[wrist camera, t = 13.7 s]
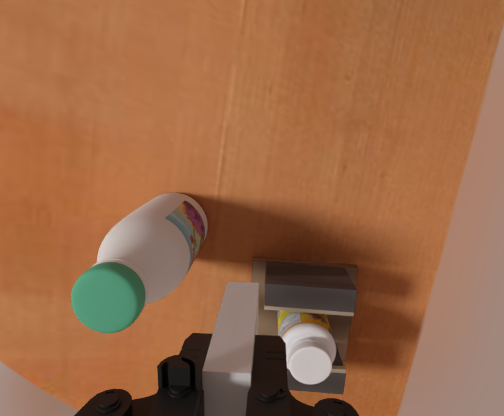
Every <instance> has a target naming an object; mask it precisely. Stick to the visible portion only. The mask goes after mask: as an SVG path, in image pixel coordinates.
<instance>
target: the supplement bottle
mask: <svg viewBox="0 0 504 416" xmlns="http://www.w3.org/2000/svg"><path fill="white" fill-rule="evenodd" d="M278 336H281V338H282V339H283V341H284V342H285V343H286V361H287V368H288V369H289V370H290V372H291V374H292V376H293V377H294V378H295V379H296V380H298V381H299V382H301V383H304V384H317V383H320V382H322V381H324V380H325V379H326V378H327V377H328V376H329V374H330V373H331V370H332V363H333V361H334V359H335V356H336V345H335V341H334V338H333V335H332V331H331V328H330V325H329V322H328V319H327V315H326V314H317V313H304V312H291V311H278Z"/></svg>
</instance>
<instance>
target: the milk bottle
mask: <svg viewBox="0 0 504 416" xmlns="http://www.w3.org/2000/svg"><path fill="white" fill-rule="evenodd" d="M207 231H208V222H207V218H206V215H205V212H204V211H203V209H202V207H201V206H200V205H199V204H198V203H197V202H196V201H195V200H194V199H192V198H191V197H189V196H187V195H184V194H181V193H165V194H162V195H159V196H157V197H155V198H153V199H152V200H150V201H149V202H147V203H146V204H144V205H143V206H141V207H140V208H138V209H137V210H135V211H134V212H132V213H131V214H129V215H128V216H126V217H125V218H124V219H122V220H121V221H120V222H119V223H117V224H116V225H115V226H114V227H113V228H112V229H111V230H110V231H109V233H108V234H107V235H106V237H105V238H104V240H103V242H102V244H101V246H100V249H99V252H98V257H97V263H96V264H94V265H93V266H92V267H91V268H90V269H88V270H87V271H86V272H84V273H83V274H82V275H81V276H80V277H79V278H78V280H77V281H76V283H75V285H74V287H73V289H72V293H71V303H72V307H73V310H74V312H75V314H76V316H77V317H78V319H79V320H80V321H81V322H82V323H83V324H84V325H86V326H87V327H89V328H90V329H92V330H95V331H98V332H102V333H115V332H119V331H121V330H124V329H125V328H127V327H129V326H130V325H131V324H132V323H133V322H134V321H135V320H136V319H137V317H138V316H139V315H140V313H141V311H142V310H143V308H144V307H145V305H146V304H147V303H152V302H155V301H157V300H159V299H162V298H163V297H165V296H167V295H168V294H169V293H171V292H172V291H173V290H174V289H175V288H176V287H177V286H178V285H179V284H180V283H181V281H182V280H183V279H184V277H185V276H186V274H187V272H188V271H189V269H190V267H191V265H192V264H193V262H194V260H195V258H196V256H197V254H198V253H199V251H200V249H201V247H202V245H203V243H204V241H205V238H206V235H207Z"/></svg>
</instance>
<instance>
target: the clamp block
mask: <svg viewBox="0 0 504 416" xmlns="http://www.w3.org/2000/svg"><path fill="white" fill-rule="evenodd" d="M357 273H358V267H357V266H356V265H348V264H335V263H322V262H308V261H295V260H282V259H268V258H255V257H253V270H252V283H259V304H258V335H274V336H278V311H291V312H304V313H317V314H326V315H327V319H328V322H329V325H330V328H331V331H332V335H333V338H334V341H335V345H336V356H335V359H334V361H333V363H332V370H331V373H330V374H329V376H328V377H327V378H326V379H325V380H324V381H322V382H320V383H317V384H304V383H301V382H299V381H298V380H296V379H295V378H294V377H293V376H292V374H291V372H290V370H289V369H288V368H287V379H288V389H289V390H297V391H309V392H321V393H333V394H343V392H344V385H345V377H346V368H345V366H343V364H342V361H345V362H346V354H347V347H348V340H349V332H350V325H351V317H352V316H354V311H355V304H356V297H357V289H356V280H357Z"/></svg>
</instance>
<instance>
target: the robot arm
mask: <svg viewBox="0 0 504 416" xmlns="http://www.w3.org/2000/svg"><path fill="white" fill-rule="evenodd" d="M258 304H259V283H247V282H227V285H226V289H225V292H224V296H223V300H222V303H221V307H220V310H219V314H218V317H217V321H216V324H215V328H214V331H213V334H203V333H193V334H191V335H190V336H189V337H188V338H187V339H186V340H185V341H184V344H183V346H182V350H181V351H180V354H179V355H174V356H171V357H168V358H166V359H164V360H163V361H161V362H160V364H159V365H158V366H157V368H158V387H159V389H158V392H157V393H156V394H154V395H152V396H149V397H145V398H140V399H135V400H132V397H131V395H130V394H129V392H127V391H125V390H123V389H110V390H105V391H103V392H101V393H99V394H97V395H96V396H94V397H93V398H92V399H90V400H89V401H88V402H87V403H86V404H85V405H84V406H83V407H82V408H81V409H80V410H79V411H78V412H77V414H76V415H74V416H359V415H358V413H357V411H356V410H355V409H354V408H353V407H352V406H351V405H350V404H348V403H346V402H345V401H342V400H339V399H336V398H327V399H323V400H320V401H319V402H318V403H316V404H315V406H314V407H313V406H309V405H306V404H304V403H301V402H300V401H298V400H296V399H295V398H294V397H293V396H292V395H291V393H290V392H289V389H288V379H287V361H286V343H285V342H284V341H283V339H282V338H281V336H274V335H258Z"/></svg>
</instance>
